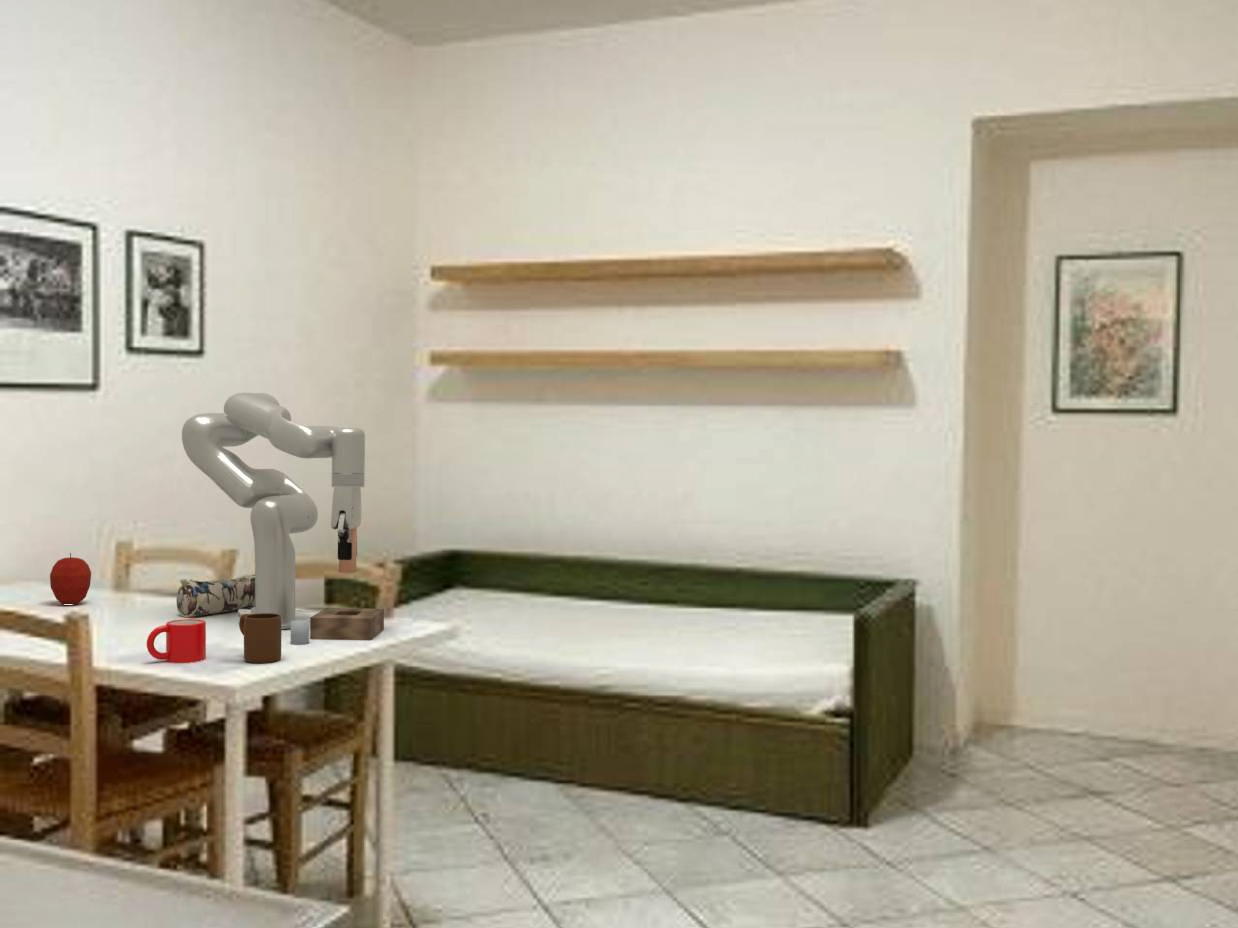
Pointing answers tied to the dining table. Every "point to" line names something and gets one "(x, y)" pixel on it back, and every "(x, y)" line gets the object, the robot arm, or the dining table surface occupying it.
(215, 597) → the pencil case
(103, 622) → the dining table surface
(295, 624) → the short pin
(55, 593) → the apple
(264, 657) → the mug
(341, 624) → the walnut hole block
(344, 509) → the robot arm
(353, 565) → the long pin
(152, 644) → the mug
